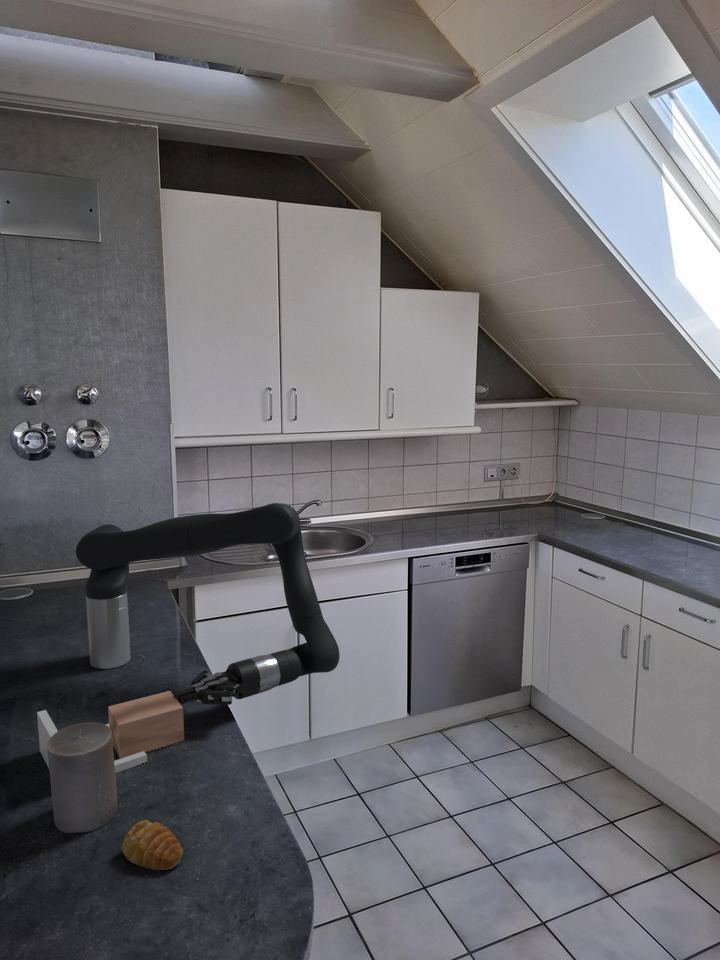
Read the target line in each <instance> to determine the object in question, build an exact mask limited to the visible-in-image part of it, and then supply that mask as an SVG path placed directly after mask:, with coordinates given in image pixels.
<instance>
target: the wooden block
mask: <svg viewBox="0 0 720 960" xmlns="http://www.w3.org/2000/svg"><path fill="white" fill-rule="evenodd" d="M107 711H108V724H109V728H110V729H111V731H112V741H113V749H114V750H115V752H116V755H117V756H118V759H122V758H125V757H128V756H131V755H134V754H137V753H140V752H143V751H144V752H146V753H148V752H147V751H149V752H152V751H151V750H153V751H155V750H154V749H156V750H158V748H160V749H162V748H161V747H163V748H166V747H168V746H167V745H170V744H173V745H175V744H174V743H176V744H178V743H177V742H179V741H182V740H184V741H185V726H184V707H183V706H182V704H181V705H180V703H179V702H178V701H177V699H176V698H175V697H174V693H172V691H170V690H167V691H164V692H160V693H156V694H151V695H148V696H144V697H140V698H137V699H133V700H128V701H124V702H121V703H116V704H112V705H109V706H107ZM165 746H166V747H165ZM170 746H171V745H170Z"/></svg>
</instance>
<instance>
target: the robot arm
mask: <svg viewBox="0 0 720 960" xmlns="http://www.w3.org/2000/svg"><path fill="white" fill-rule="evenodd" d="M258 544H259V545H260V544H264V545H265V544H267V545H268V544H269V545H270V544H272V547H273V549H274V551H275V553H276V556H277V559H278V562H279V566H280V570H281V576H282V582H283V583H282V584H283V591H284V597H285V601H286V606H287V609H288V613H289V616H290V620H291V623H292V626H293V628H294V631H295V632H296V633H297V634H300V635H301V636H303V638H304V640H305V641H306V642H304V643H300V644H298V645H295V646H293V647H290V648H288V649H283V650H279V651H276V652H272V653H268V654H261V655H257V656H253V657H250V658H245V659H243V660H239V661H235V662H231V663H230V664H229V665H228V666H227V668H226V670H225V671H222V672H215V673H214V674H210V673H209V671H208V670H207V669H204V670H202V671H201V672H200V673H199V674H197V675H196V676H195V677H194V678H193V679H192V680H191V681H190V687H188V688H185V689H182V690H178V691H175V692H174V693H173V695H174V697H175V698H176V699H177V701H178V702H179V703H180V705H181V706H182V705H185V704H188V703H190V702H191V703H192V702H194V701H195V702H197V703H198V702H199V703H200V702H201V704H202V705H210V706H211V705H213V706H214V705H217V706H221V705H222V706H224V705H225V706H229V705H232V704H233V698H234V699H236V700H242V699H246V698H248V697H253V696H255V695H258V694H261V693H265V692H267V691H270V690H272V689H275V688H276V687H280V686H282V685H286V684H289V683H292V682H294V681H296V680H297V679H299V677H303V676H305V675H310V674H317V673H318V674H319V673H325V674H326V673H329V672H332V671H334V670H336V668H337V666H338V665H339V662H340V658H341V657H340V650H339V646H338V642H337V641H336V640H337V639H336V638H335V637H334V635H333V633H332V631H331V629H330V627H329V626H328V624H327V623H326V622H325V619H324V616H323V612H322V609H321V605H320V603H319V599H318V596H317V593H316V589H315V586H314V583H313V580H312V576H311V573H310V570H309V567H308V566H309V565H308V563H307V558H306V555H305V548H304V543H303V536H302V527H301V520H300V515H299V513H298V511H297V510H296V509H295V508H294V507H293V506H291V505H289V504H287V503H281V502H274V503H273V502H272V503H269V504H266V505H265V504H264V505H261V506H258V507H255V508H251V509H246V510H243V511H241V510H240V511H238V512H232V513H230V512H229V513H201V514H192V515H184V516H177V517H172V518H168V519H165V520H162V521H157V522H154V523H150V524H149V525H146V526H143V527H140V528H136V529H133V530H132V529H130V530H125V531H124V530H122V529H121V528H120V527H119V526H117V525H114V524H111V523H109V524H102V525H100V526H98V527H96V528H94V529H92V530H91V531H88V532H87V533H85V534H84V535H83V536H82V537H81V538H80V540H79V541H78V543H77V544H76V548H75V556H76V558H77V561H78V562H79V563H80V564H81V565H82V566H84V567H85V568H88V569H90V573H89V576H88V579H87V581H86V582H85V590H84V591H85V604H86V605H85V606H86V617H87V632H88V633H87V634H88V647H89V648H88V650H89V652H88V653H89V663H90V666H91V667H92V668H95V669H98V670H99V669H100V670H108V669H109V670H110V669H114V668H119V667H122V666H124V665H126V664H128V663H129V662H130V661H131V659H132V658H131V645H130V644H131V642H130V641H131V640H130V625H129V623H130V622H129V603H128V581H129V576H130V563H134V562H143V561H153V560H155V561H156V560H164V559H175V558H184V557H185V558H186V557H192V556H199V555H203V554H209V553H213V552H217V551H220V550H224V549H226V548H229V547H235V546H242V545H258Z"/></svg>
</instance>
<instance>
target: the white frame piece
mask: <svg viewBox="0 0 720 960" xmlns="http://www.w3.org/2000/svg"><path fill="white" fill-rule="evenodd" d="M36 716H37V717H36V718H37V729H38V740H39V742H38V743H39V752H40V754H41V756H42V758H43V760H44V763H45V764H46V766H47V768H48V769H49V760H48V749H47V744H48V741H49V739H50V738H51V737H52V736H53V735H54V734H55V733H56V732H58V731H59V730H58V729H57V727H56V726H55V723H54V722H53V720H52V718H51V717H50V715H49V713H48V711H47V710H46V709H44V710H40V711H36ZM104 725H107V726H108V727H109V723H106V724H104ZM145 762H147V763H148V755H147V752H146V753H145V752H144V751H143V752H140V753H137V754H134V755H131V756H128V757H125V758H122V759H120V758H118V759H115V760H114V765H115V774H117V773H121V772H123V771H126V770H129V769H132V768H134V767H137V765H138V766H140V764H141V765H143V764H142V763H144V764H146V763H145Z"/></svg>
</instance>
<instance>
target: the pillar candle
mask: <svg viewBox="0 0 720 960" xmlns="http://www.w3.org/2000/svg"><path fill="white" fill-rule="evenodd" d="M47 749H48V760H49V768H48V770H49V779H50V780H49V781H50V791H51V792H50V793H51V802H52V811H53V812H52V813H53V821H54V825H55V828H57V829H58V830H59V831H60V832H63V833H65V834H73V833H74V834H75V833H76V834H77V833H88V832H93V831H95V830H98V829H100V828H101V827H103V826H105V825H106V824H108V823H109V822H110V821H111V820H112V819H113V818H114V817H115V815H116V813H117V812H118V808H119V806H118V805H119V802H118V789H117V779H116V777H117V776H116V775H117V774H116V773H115V765H114V761H115V757H114V756H115V754H114V753H115V752H114V746H113V741H112V731H111V729H110V728H109V727H108V726H107V725H105V724H104V723H101V722H96V721H91V722H90V721H89V722H80V723H74V724H71V725H68V726H66V727H63V728H61V729H59V730H58V732H56V733H55V734H54V735H53V736H52V737H51V738H50V739H49V741H48V744H47Z"/></svg>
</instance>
